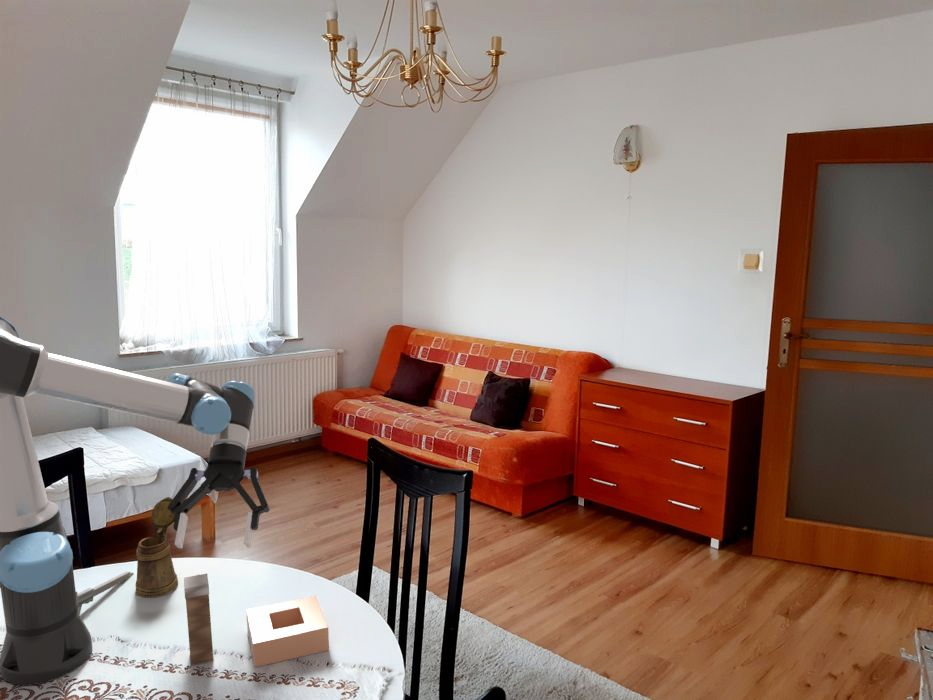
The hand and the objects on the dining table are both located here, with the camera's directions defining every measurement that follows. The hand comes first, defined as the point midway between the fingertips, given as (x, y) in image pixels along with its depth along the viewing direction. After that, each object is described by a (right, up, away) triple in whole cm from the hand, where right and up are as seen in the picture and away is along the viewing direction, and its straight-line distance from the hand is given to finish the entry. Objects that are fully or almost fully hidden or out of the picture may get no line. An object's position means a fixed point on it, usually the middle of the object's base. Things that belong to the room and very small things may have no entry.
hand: (212, 546), depth 143 cm
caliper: (-29, -15, +13) cm, 35 cm away
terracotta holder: (+15, -18, -2) cm, 24 cm away
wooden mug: (-19, -14, +19) cm, 30 cm away
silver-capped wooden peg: (0, -19, -7) cm, 21 cm away
